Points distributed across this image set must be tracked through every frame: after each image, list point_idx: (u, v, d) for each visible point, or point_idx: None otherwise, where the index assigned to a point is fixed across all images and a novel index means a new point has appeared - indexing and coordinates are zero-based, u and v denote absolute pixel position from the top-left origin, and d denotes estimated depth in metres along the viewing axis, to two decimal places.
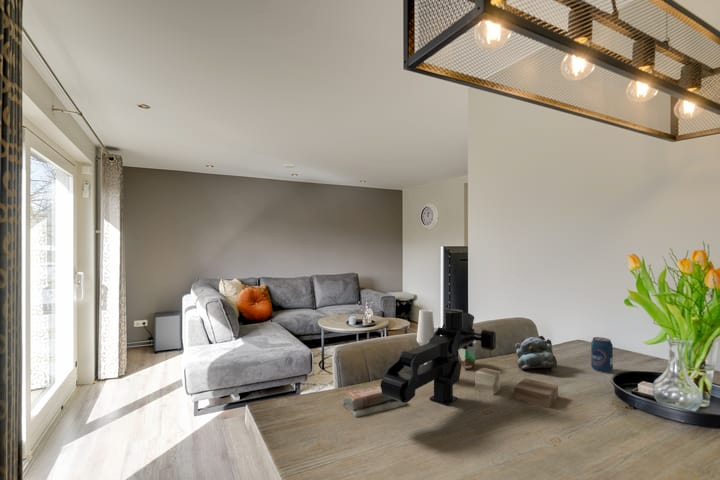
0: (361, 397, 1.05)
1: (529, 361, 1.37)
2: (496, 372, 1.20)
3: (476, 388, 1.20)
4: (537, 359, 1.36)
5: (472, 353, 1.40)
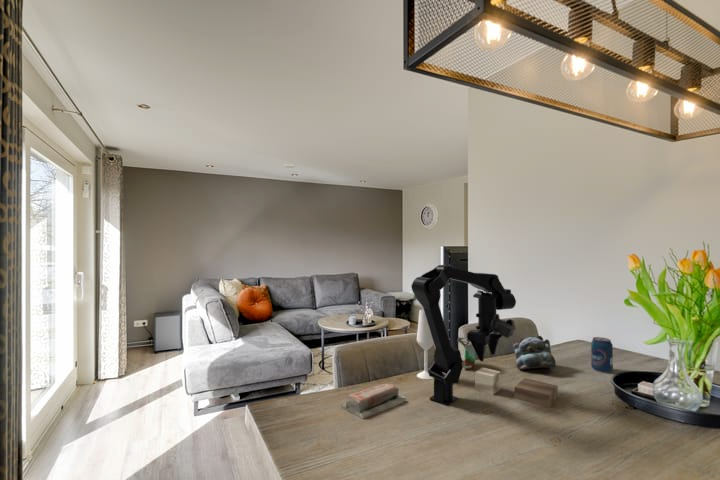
0: (366, 398, 1.04)
1: (528, 361, 1.37)
2: (496, 372, 1.20)
3: (476, 388, 1.20)
4: (536, 359, 1.36)
5: (472, 353, 1.40)
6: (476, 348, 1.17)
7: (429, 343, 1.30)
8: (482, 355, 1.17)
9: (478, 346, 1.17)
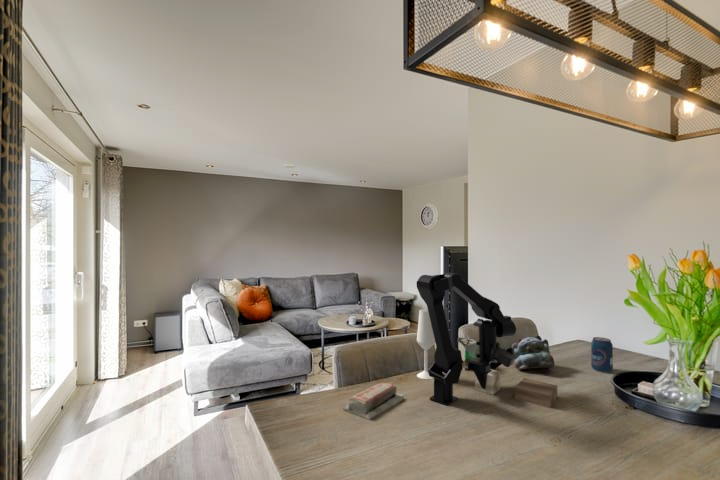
0: (370, 399, 1.04)
1: (527, 361, 1.37)
2: (496, 372, 1.20)
3: (476, 388, 1.20)
4: (535, 359, 1.36)
5: (472, 353, 1.40)
6: (478, 376, 1.18)
7: (429, 343, 1.30)
8: (484, 383, 1.18)
9: (480, 374, 1.18)
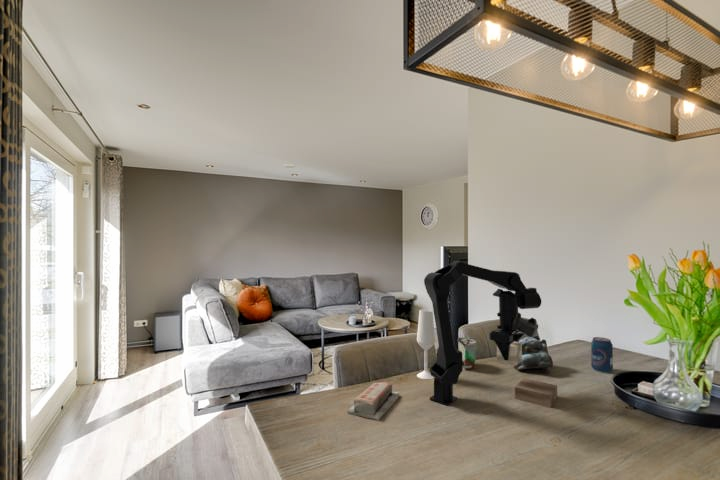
0: (375, 399, 1.04)
1: (526, 362, 1.37)
2: (518, 343, 1.18)
3: (498, 360, 1.18)
4: (534, 359, 1.35)
5: (472, 353, 1.40)
6: (500, 347, 1.16)
7: (429, 343, 1.30)
8: (507, 354, 1.15)
9: (502, 345, 1.16)
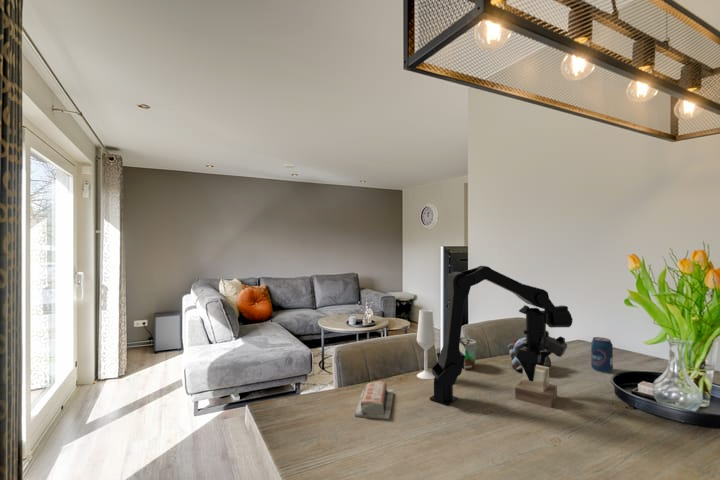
0: (382, 399, 1.04)
1: None
2: (545, 368, 1.14)
3: (524, 384, 1.14)
4: None
5: (472, 353, 1.40)
6: (526, 367, 1.11)
7: (429, 343, 1.30)
8: (532, 375, 1.10)
9: (527, 365, 1.11)
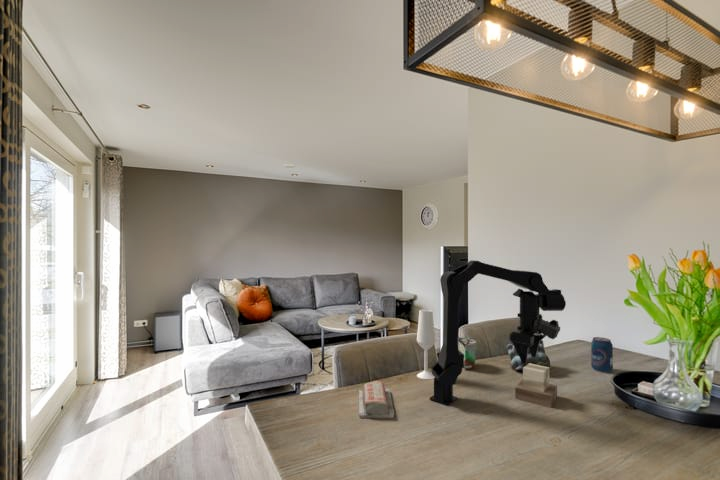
0: (385, 398, 1.04)
1: None
2: (545, 368, 1.14)
3: (524, 385, 1.14)
4: (532, 359, 1.35)
5: (472, 353, 1.40)
6: (519, 350, 1.12)
7: (429, 343, 1.30)
8: (525, 357, 1.11)
9: (520, 348, 1.11)
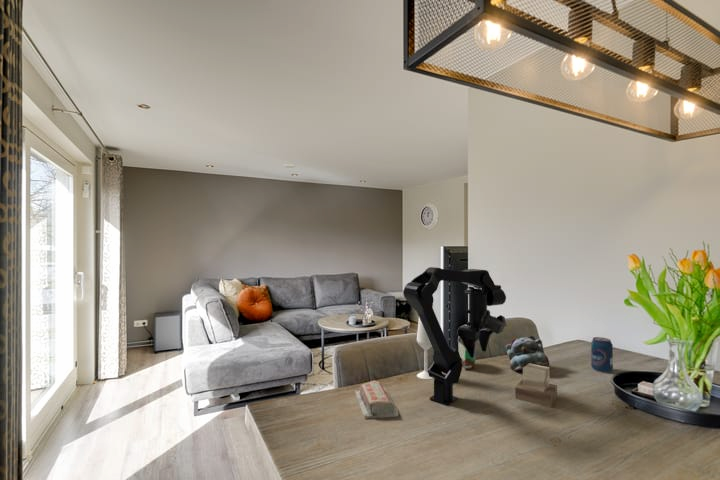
0: (388, 397, 1.05)
1: (523, 362, 1.36)
2: (545, 368, 1.14)
3: (524, 384, 1.14)
4: (531, 359, 1.35)
5: None
6: (466, 344, 1.17)
7: (429, 343, 1.30)
8: (472, 351, 1.16)
9: (468, 342, 1.16)
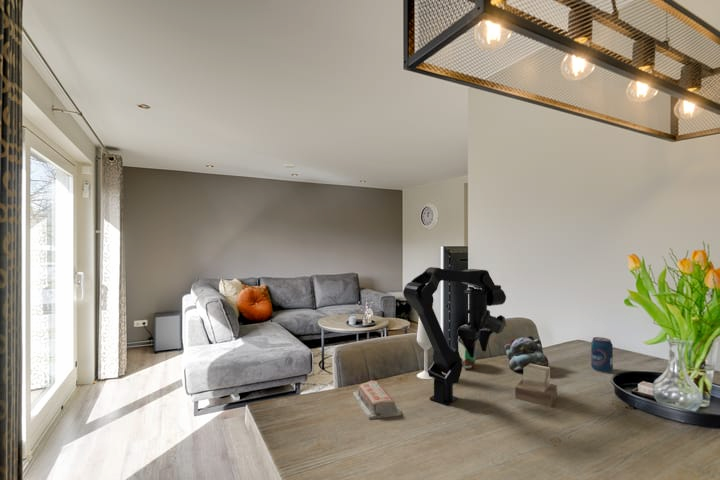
0: (390, 397, 1.05)
1: (522, 362, 1.36)
2: (546, 368, 1.14)
3: (524, 385, 1.14)
4: (530, 360, 1.35)
5: None
6: (466, 344, 1.17)
7: (429, 343, 1.30)
8: (472, 351, 1.16)
9: (468, 342, 1.16)
